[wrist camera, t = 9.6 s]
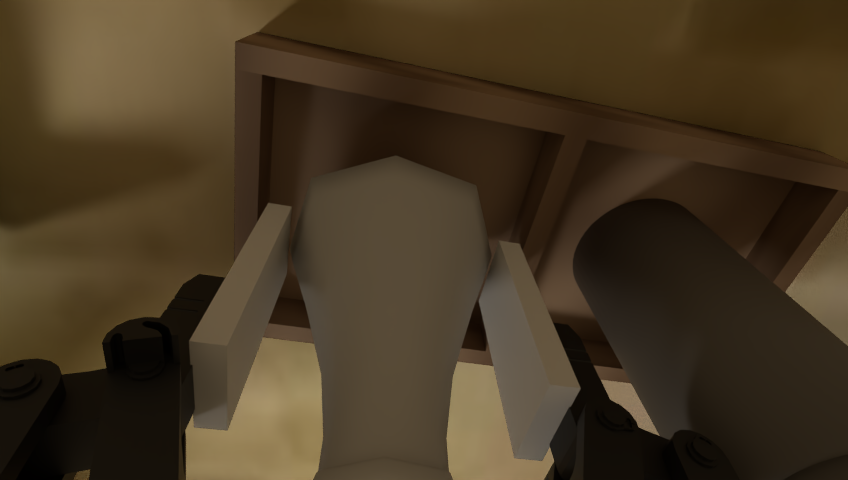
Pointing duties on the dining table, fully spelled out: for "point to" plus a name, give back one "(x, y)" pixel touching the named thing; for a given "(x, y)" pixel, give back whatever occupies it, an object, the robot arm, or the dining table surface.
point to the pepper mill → (716, 343)
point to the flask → (388, 311)
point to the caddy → (514, 169)
